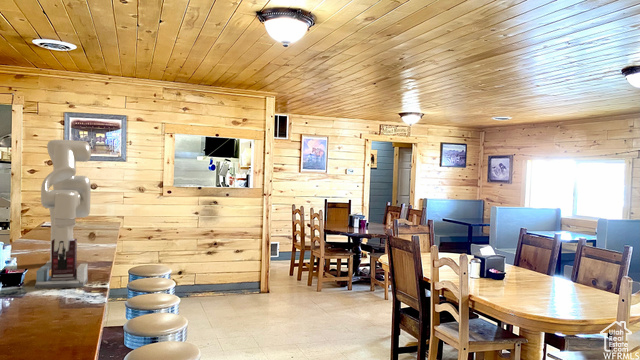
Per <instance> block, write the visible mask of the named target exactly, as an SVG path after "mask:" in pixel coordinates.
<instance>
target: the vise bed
mask: <svg viewBox="0 0 640 360" xmlns="http://www.w3.org/2000/svg"><path fill="white" fill-rule="evenodd" d="M88 266H89V263H80V264H79V265H78V266H77V272H76V278H75V279H69V280H51V275H49V279H48V280H47V281H42V282H36V281H35V284H34V289H56V288H57V289H59V288H84V287H85V285H86V284H87V282H88V280H89V279H88V278H89V277H88Z"/></svg>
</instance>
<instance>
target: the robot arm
mask: <svg viewBox="0 0 640 360" xmlns="http://www.w3.org/2000/svg"><path fill="white" fill-rule="evenodd" d="M46 148H47V153H48V157H49V158H50V161H51V162H52V166H53V167H52V168H53V170H52V171H51V172H50V173H49V174H48V175H46V176H45V178H44V179H43V180H42V183H41V187H40V203H41V206H42V207H44V208H45V209H49V210H48V211H49V216H50V247H49V249H50V253H49V254H50V255H49V256H50V257H49V260H47V261H46V263H45V265H46V264H47V263H48V262H51V247H52V240H54V239H55V243H54V251H55V252H57V251H58V250H59V252H58V270H61V269H67V259H66V255H67V251H69V245H70V240H71V239H74V227H76V218H86V217H88V216H90V213H91V212H90V211H91V192H92V191H91V180H90V178H89V177H88V176H86V175H76V173H77V162H78V163H79V162H80V163H81V162H83V163H84V162H85V163H87V162H89V161H90V159H91V157H92V149H91V146H90V144H89V142H88V141H85V140H71V139H52V140H49V141H48V142H47V145H46ZM50 187H52V189H50ZM58 248H59V249H58ZM63 250H65V251H63ZM64 253H65V255H64Z"/></svg>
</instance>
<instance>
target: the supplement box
mask: <svg viewBox="0 0 640 360" xmlns="http://www.w3.org/2000/svg"><path fill="white" fill-rule="evenodd" d="M54 243H55V239H54V240H52V247H51V246H50V247H51V269H50V271H51V272H50V273H51V274H50V276H51V280H69V279H75V278H76V275H77V267H78V266H77V263H78V262H77V261H78V259H77V255H78V253H77V252H78V251H77V250H78V249H77V248H78V246H77V245H78V240H77V238H73V239H71V240H70V245H69V251H67V255H66V259H67V269H61V270H58V252H59V250H58V251H57V252H55V251H54ZM58 249H59V248H58ZM63 251H65V250H63ZM64 255H65V253H64Z"/></svg>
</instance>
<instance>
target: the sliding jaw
mask: <svg viewBox="0 0 640 360" xmlns="http://www.w3.org/2000/svg"><path fill="white" fill-rule="evenodd" d="M50 271H51V262H48V263H47V264H46V263H45V264H44V265H43V266H41V267H40V268H38V269H37V270H36V278H35V280H36V281H35V283H36V282H42V281H47V280H48V279H49V276H50Z"/></svg>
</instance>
